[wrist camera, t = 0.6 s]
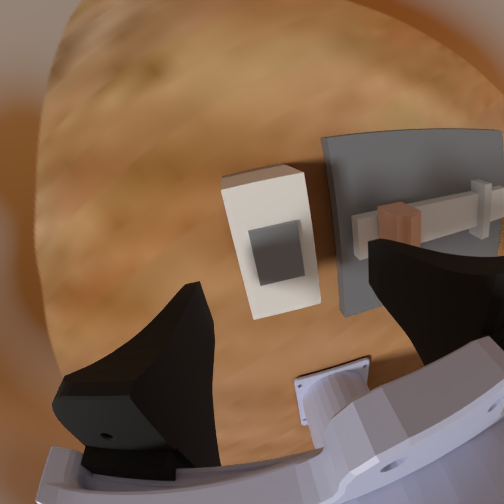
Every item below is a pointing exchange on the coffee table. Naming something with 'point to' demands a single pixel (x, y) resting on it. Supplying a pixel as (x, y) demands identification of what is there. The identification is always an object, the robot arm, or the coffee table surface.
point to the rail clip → (400, 223)
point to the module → (273, 238)
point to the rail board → (413, 195)
